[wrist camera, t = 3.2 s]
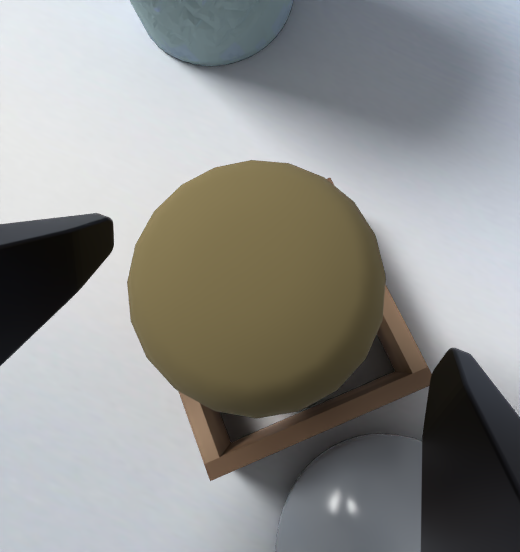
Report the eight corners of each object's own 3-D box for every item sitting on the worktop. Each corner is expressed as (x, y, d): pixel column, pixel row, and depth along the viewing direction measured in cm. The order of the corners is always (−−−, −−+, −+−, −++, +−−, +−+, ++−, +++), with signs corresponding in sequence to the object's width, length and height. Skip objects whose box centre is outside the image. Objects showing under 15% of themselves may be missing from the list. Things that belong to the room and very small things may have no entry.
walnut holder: (414, 379, 16) (436, 382, 14) (223, 462, 16) (210, 481, 14) (325, 202, 18) (330, 177, 16) (155, 275, 18) (133, 262, 16)
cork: (212, 261, 18) (88, 117, 7) (341, 256, 17) (415, 94, 7) (210, 394, 17) (55, 460, 6) (350, 394, 16) (457, 465, 5)
